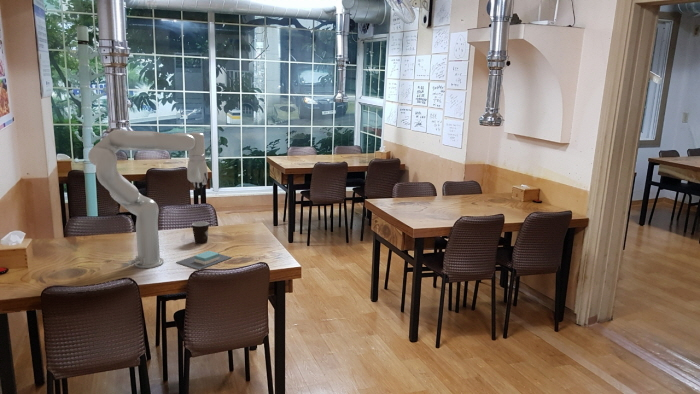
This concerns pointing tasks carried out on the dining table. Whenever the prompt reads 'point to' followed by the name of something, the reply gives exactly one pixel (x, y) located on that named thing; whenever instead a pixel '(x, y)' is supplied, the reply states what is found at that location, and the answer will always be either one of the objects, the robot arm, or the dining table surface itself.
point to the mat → (191, 263)
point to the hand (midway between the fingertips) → (198, 195)
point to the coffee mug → (200, 232)
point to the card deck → (207, 257)
